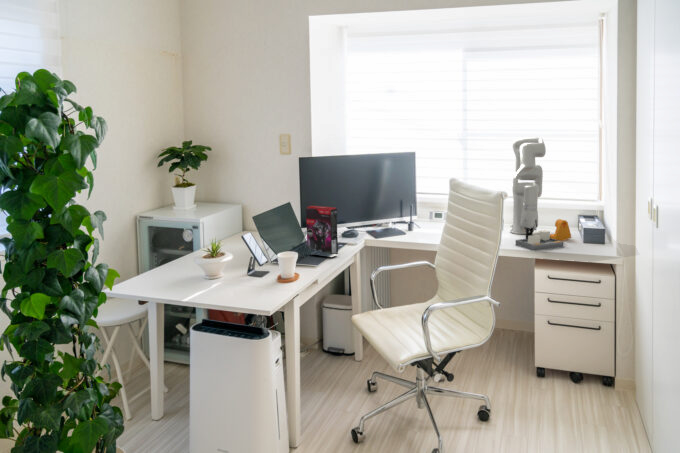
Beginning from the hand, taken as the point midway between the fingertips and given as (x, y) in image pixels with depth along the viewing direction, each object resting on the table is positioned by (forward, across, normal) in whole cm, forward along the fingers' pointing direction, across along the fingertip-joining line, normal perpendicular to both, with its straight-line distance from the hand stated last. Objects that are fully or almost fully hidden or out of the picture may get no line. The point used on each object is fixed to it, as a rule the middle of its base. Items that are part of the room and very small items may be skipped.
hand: (529, 239), depth 351 cm
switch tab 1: (+2, -3, +7) cm, 8 cm away
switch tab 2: (+2, +4, 0) cm, 5 cm away
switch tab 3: (+2, -3, +13) cm, 14 cm away
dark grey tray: (+4, +1, +7) cm, 8 cm away
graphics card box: (+5, -33, -112) cm, 117 cm away
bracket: (+5, -8, +29) cm, 30 cm away
